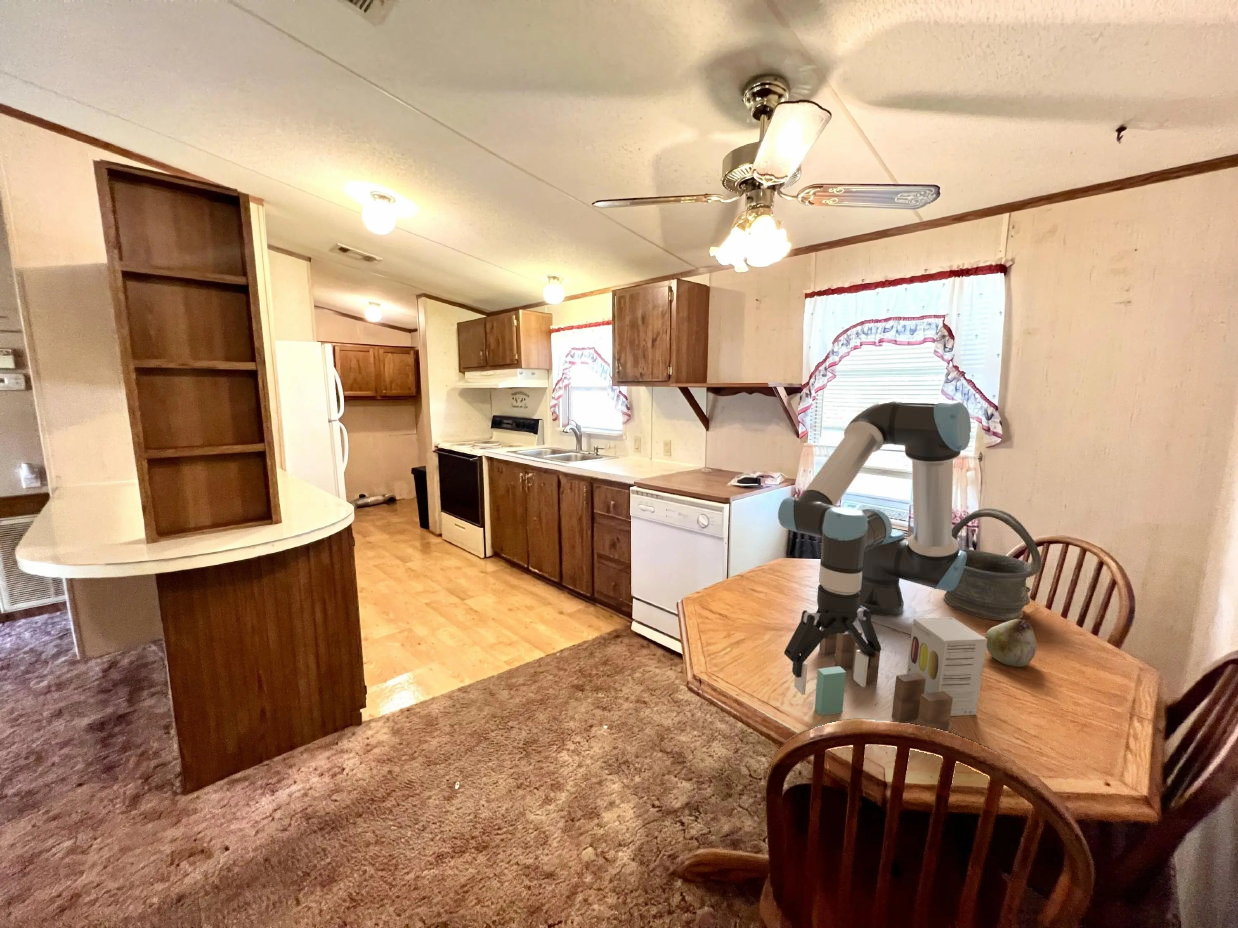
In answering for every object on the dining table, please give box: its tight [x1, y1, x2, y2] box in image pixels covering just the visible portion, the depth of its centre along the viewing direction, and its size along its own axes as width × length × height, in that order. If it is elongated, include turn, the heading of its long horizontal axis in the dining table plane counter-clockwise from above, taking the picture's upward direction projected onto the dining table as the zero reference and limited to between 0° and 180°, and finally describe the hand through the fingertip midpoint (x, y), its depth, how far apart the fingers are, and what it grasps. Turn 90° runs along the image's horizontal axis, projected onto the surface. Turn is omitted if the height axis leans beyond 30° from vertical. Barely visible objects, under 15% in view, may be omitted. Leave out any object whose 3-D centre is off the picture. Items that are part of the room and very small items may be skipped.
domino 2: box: [834, 628, 863, 670], centre depth 112 cm, size 5×2×9 cm, turn 102°
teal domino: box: [814, 666, 847, 716], centre depth 97 cm, size 5×2×9 cm, turn 102°
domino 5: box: [916, 691, 953, 732], centre depth 89 cm, size 5×2×9 cm, turn 102°
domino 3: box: [851, 641, 881, 687], centre depth 106 cm, size 5×2×9 cm, turn 102°
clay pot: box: [943, 507, 1043, 622], centre depth 142 cm, size 22×23×30 cm
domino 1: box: [818, 627, 837, 657], centre depth 118 cm, size 5×2×9 cm, turn 102°
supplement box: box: [906, 616, 987, 717], centre depth 99 cm, size 10×9×17 cm
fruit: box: [984, 618, 1038, 668], centre depth 114 cm, size 10×9×12 cm
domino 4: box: [891, 672, 926, 723], centre depth 95 cm, size 5×2×9 cm, turn 102°
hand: (829, 686), depth 96 cm, fingers open, 13 cm apart
